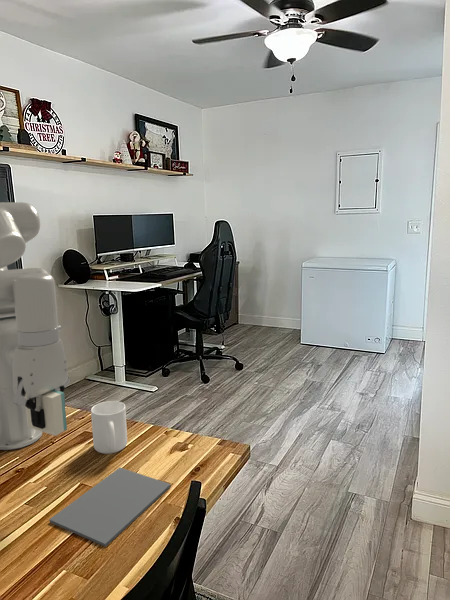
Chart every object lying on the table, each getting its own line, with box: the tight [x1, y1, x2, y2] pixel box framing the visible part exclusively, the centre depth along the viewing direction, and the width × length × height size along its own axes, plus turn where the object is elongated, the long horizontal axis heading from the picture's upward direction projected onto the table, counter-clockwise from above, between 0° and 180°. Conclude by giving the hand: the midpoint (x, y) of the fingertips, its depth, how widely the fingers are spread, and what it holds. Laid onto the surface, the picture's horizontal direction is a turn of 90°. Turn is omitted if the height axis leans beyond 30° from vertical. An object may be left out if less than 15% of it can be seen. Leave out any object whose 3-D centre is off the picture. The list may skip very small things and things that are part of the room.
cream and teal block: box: [25, 390, 68, 437], centre depth 92 cm, size 8×3×8 cm, turn 62°
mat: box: [49, 467, 172, 547], centre depth 92 cm, size 14×20×1 cm
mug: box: [90, 400, 128, 455], centre depth 112 cm, size 12×8×10 cm
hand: (46, 422), depth 93 cm, fingers closed on cream and teal block, 3 cm apart
